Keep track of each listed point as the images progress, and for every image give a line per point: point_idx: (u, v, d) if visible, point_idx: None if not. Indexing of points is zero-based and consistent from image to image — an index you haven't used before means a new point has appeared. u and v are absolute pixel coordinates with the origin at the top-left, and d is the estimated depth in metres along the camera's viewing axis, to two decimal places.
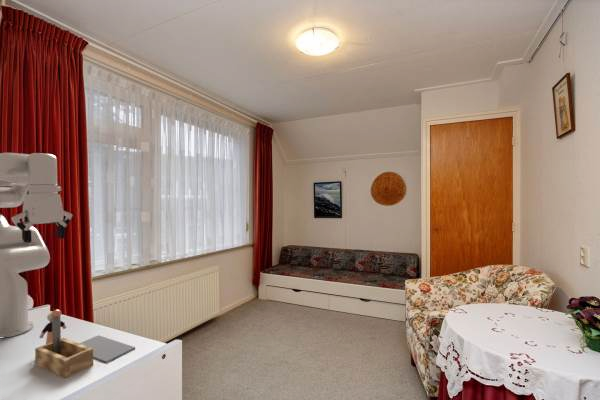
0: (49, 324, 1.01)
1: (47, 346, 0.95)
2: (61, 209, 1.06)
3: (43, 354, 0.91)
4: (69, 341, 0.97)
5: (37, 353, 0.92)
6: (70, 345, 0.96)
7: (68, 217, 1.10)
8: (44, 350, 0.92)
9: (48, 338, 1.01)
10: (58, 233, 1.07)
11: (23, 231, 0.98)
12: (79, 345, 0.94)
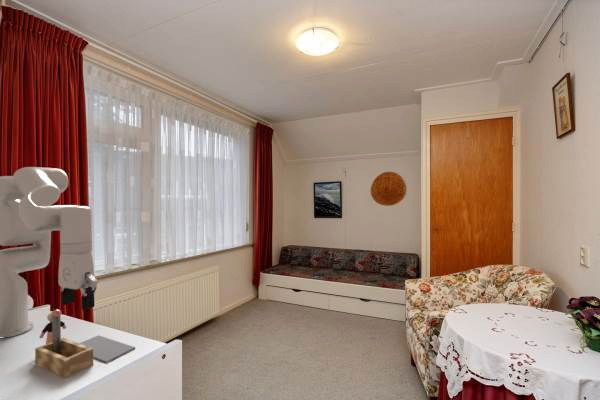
0: (49, 324, 1.01)
1: (47, 346, 0.95)
2: None
3: (43, 354, 0.91)
4: (69, 341, 0.97)
5: (37, 353, 0.92)
6: (70, 345, 0.96)
7: None
8: (44, 350, 0.92)
9: (48, 338, 1.01)
10: (67, 298, 0.91)
11: (90, 296, 0.87)
12: (79, 345, 0.94)
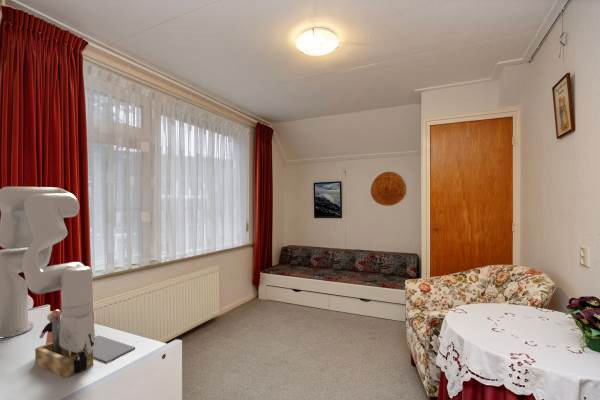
0: (49, 324, 1.01)
1: (47, 346, 0.95)
2: None
3: (43, 354, 0.91)
4: None
5: (37, 353, 0.92)
6: None
7: None
8: (44, 350, 0.91)
9: (48, 338, 1.01)
10: None
11: (82, 359, 0.89)
12: None
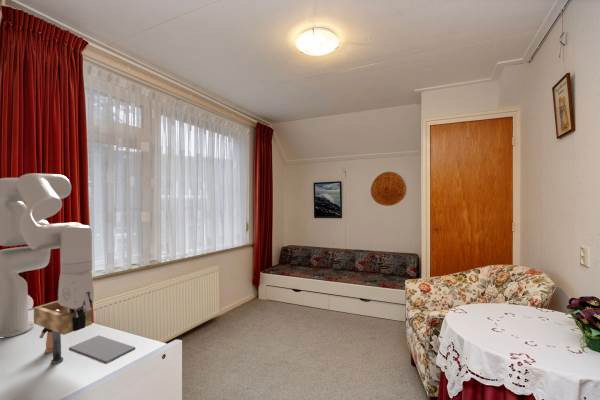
0: None
1: (46, 306, 0.94)
2: None
3: (41, 312, 0.91)
4: None
5: (36, 312, 0.92)
6: None
7: None
8: (43, 309, 0.91)
9: (48, 338, 1.01)
10: None
11: (81, 317, 0.89)
12: None
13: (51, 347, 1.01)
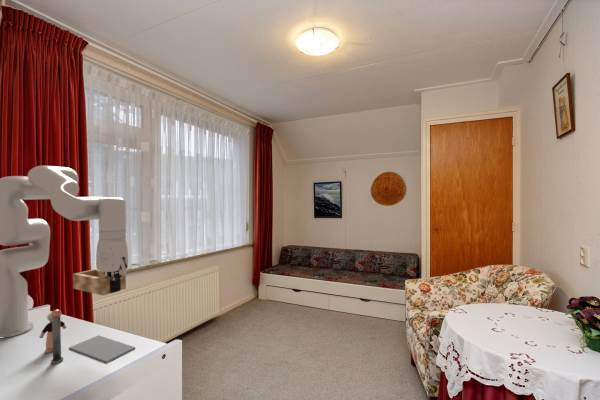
0: (49, 324, 1.01)
1: (83, 273, 1.04)
2: None
3: (80, 277, 1.00)
4: None
5: (75, 278, 1.01)
6: None
7: None
8: (81, 274, 1.01)
9: (48, 338, 1.01)
10: None
11: (117, 280, 0.98)
12: None
13: (51, 347, 1.01)
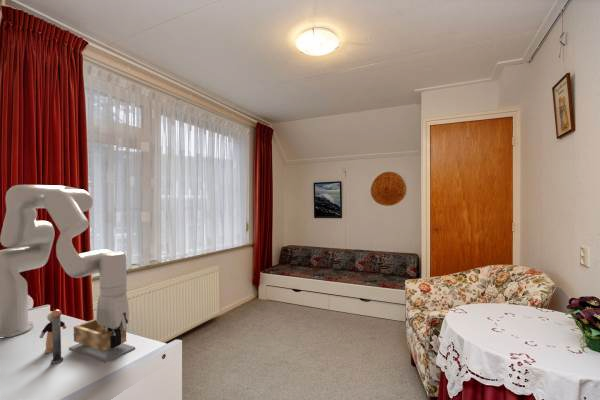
0: (49, 324, 1.01)
1: (84, 325, 1.04)
2: None
3: (81, 331, 1.01)
4: None
5: (76, 331, 1.02)
6: None
7: None
8: (82, 328, 1.01)
9: (48, 338, 1.01)
10: None
11: (117, 335, 0.99)
12: None
13: (51, 347, 1.01)
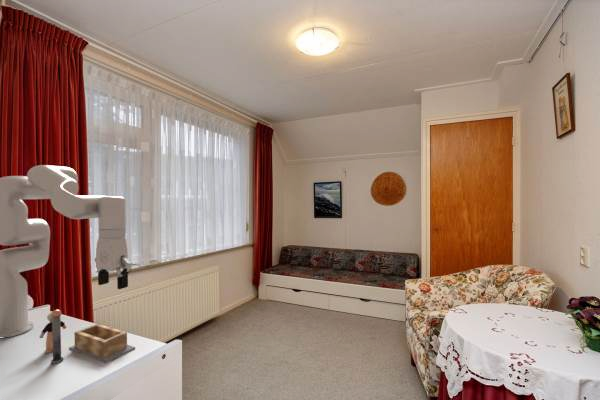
0: (49, 324, 1.01)
1: (84, 330, 1.04)
2: None
3: (82, 337, 1.00)
4: (104, 326, 1.07)
5: (76, 336, 1.02)
6: (105, 330, 1.05)
7: None
8: (83, 333, 1.01)
9: (48, 338, 1.01)
10: (103, 279, 1.00)
11: (124, 277, 0.96)
12: (114, 330, 1.04)
13: (51, 347, 1.01)
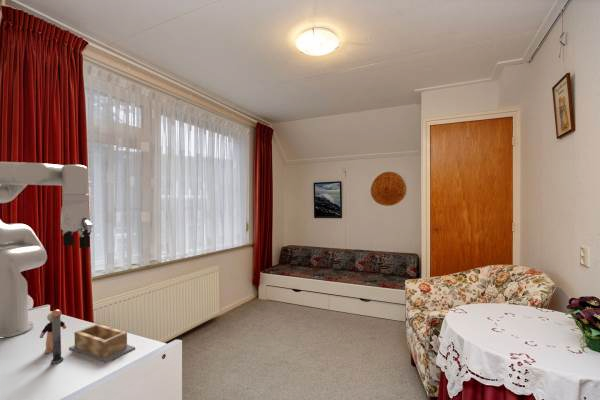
0: (49, 324, 1.01)
1: (84, 330, 1.04)
2: None
3: (82, 337, 1.00)
4: (104, 326, 1.07)
5: (76, 336, 1.02)
6: (105, 330, 1.05)
7: None
8: (83, 333, 1.01)
9: (48, 338, 1.01)
10: (67, 241, 1.11)
11: (86, 237, 1.07)
12: (114, 330, 1.04)
13: (51, 347, 1.01)
